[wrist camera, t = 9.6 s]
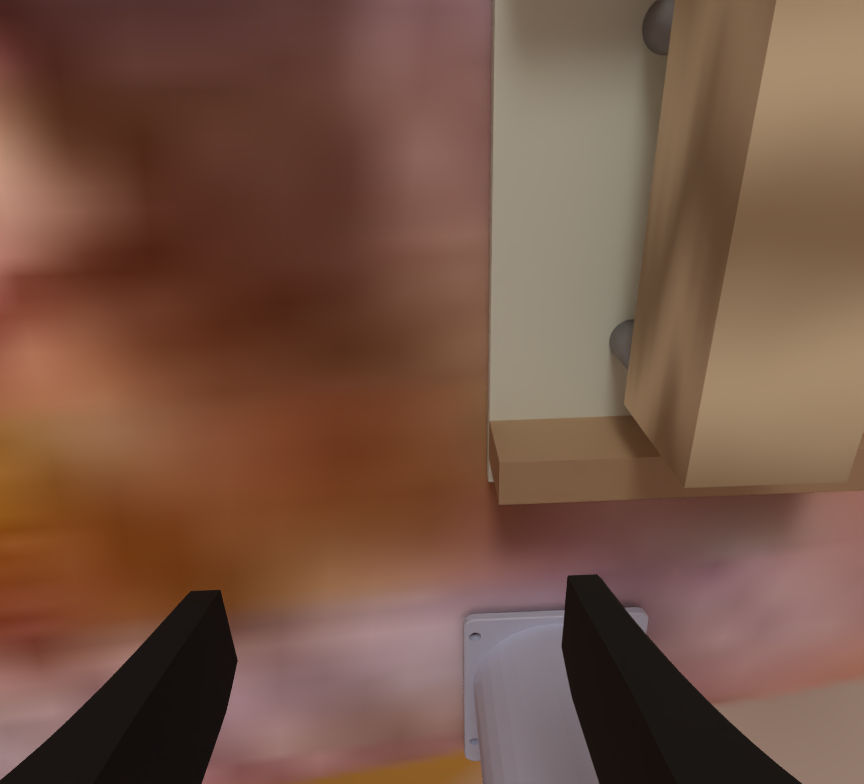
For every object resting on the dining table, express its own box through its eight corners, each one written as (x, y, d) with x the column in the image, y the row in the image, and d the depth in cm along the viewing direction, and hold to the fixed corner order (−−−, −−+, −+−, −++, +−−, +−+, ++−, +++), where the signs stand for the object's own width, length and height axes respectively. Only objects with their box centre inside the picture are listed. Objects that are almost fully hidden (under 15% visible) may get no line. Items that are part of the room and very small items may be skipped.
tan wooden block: (749, 399, 18) (846, 482, 14) (623, 404, 18) (684, 488, 14) (857, -73, 13) (1057, -158, 9) (683, -69, 13) (804, -152, 9)
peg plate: (797, 461, 23) (856, 515, 20) (486, 473, 22) (498, 529, 19) (992, -249, 14) (1154, -351, 11) (494, -235, 14) (517, -335, 11)
